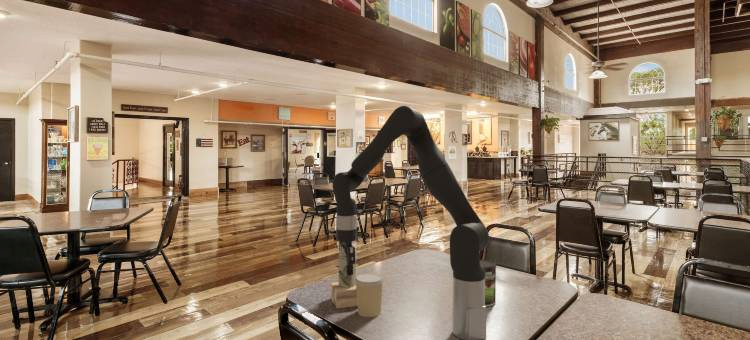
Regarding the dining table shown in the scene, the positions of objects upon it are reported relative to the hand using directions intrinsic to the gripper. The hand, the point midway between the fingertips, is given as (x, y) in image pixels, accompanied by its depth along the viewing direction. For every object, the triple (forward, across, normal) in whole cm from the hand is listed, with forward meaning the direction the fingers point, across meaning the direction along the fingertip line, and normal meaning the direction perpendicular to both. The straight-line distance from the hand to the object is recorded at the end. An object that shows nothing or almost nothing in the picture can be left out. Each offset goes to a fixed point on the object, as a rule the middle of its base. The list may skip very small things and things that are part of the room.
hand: (346, 271), depth 138 cm
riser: (+11, 0, 0) cm, 11 cm away
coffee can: (+11, -16, -46) cm, 50 cm away
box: (+5, 0, 0) cm, 5 cm away
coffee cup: (+11, -12, -5) cm, 17 cm away
